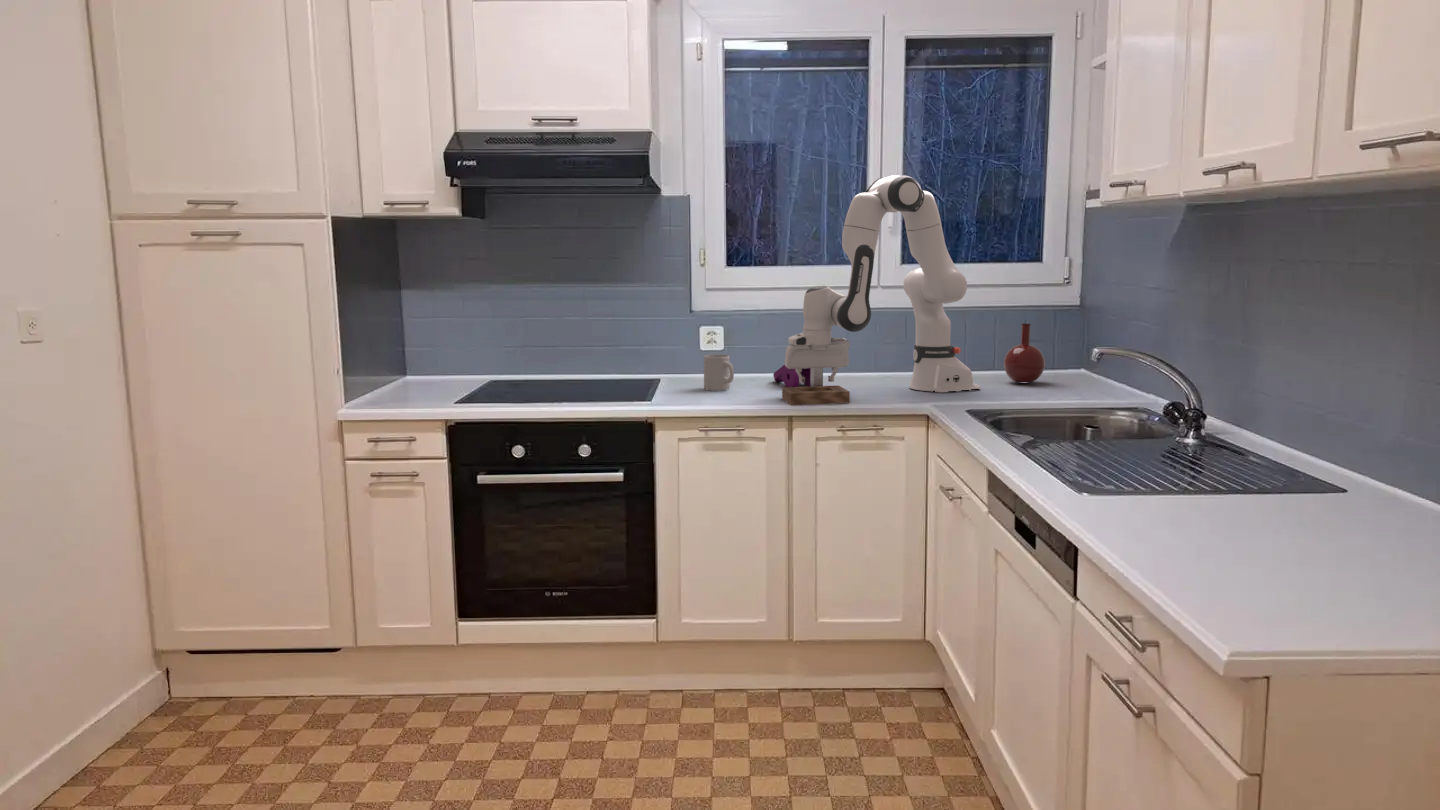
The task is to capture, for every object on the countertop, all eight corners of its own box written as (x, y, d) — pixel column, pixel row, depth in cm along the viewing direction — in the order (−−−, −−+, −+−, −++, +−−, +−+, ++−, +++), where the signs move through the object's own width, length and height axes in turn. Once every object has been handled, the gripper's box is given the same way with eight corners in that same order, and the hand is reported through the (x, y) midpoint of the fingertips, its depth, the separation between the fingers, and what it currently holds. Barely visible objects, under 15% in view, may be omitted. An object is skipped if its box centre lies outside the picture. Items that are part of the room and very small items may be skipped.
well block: (838, 396, 308) (838, 385, 307) (849, 402, 296) (849, 391, 295) (782, 398, 305) (782, 387, 304) (791, 405, 293) (791, 393, 292)
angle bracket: (819, 394, 313) (819, 365, 311) (822, 396, 309) (823, 367, 307) (794, 394, 311) (795, 366, 310) (797, 396, 308) (798, 368, 306)
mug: (698, 389, 324) (698, 356, 322) (717, 386, 330) (717, 353, 328) (723, 393, 316) (723, 359, 314) (742, 390, 321) (742, 356, 319)
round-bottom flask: (1043, 381, 335) (1046, 322, 332) (1044, 387, 323) (1047, 326, 319) (1003, 379, 339) (1005, 321, 335) (1003, 385, 326) (1005, 325, 323)
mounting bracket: (773, 400, 337) (795, 384, 321) (769, 377, 339) (790, 359, 323) (798, 398, 341) (820, 382, 325) (793, 375, 343) (815, 358, 327)
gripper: (846, 336, 312) (845, 379, 314) (783, 338, 309) (783, 381, 311) (852, 338, 306) (851, 382, 308) (787, 340, 303) (787, 384, 305)
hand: (816, 382), depth 310 cm, fingers open, 8 cm apart
